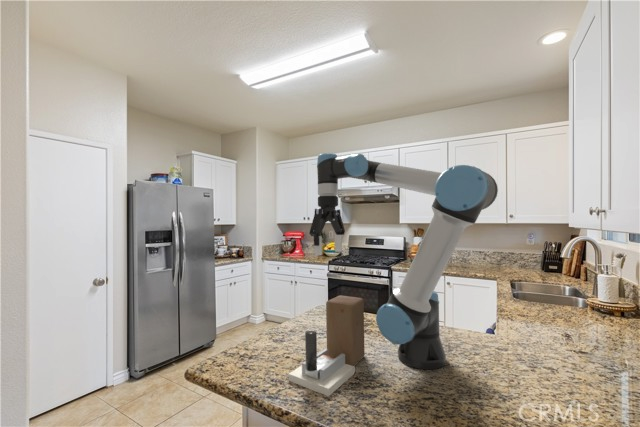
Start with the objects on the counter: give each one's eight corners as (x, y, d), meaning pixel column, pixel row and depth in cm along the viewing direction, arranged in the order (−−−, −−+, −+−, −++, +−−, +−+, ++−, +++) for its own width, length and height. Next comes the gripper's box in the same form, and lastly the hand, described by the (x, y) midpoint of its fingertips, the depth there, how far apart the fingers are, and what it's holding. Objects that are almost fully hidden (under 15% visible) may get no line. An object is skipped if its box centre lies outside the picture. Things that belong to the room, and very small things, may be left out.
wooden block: (353, 369, 93) (351, 304, 93) (325, 361, 98) (324, 300, 99) (365, 356, 101) (364, 297, 102) (340, 350, 106) (339, 294, 107)
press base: (354, 373, 90) (354, 356, 90) (328, 396, 78) (328, 377, 78) (317, 361, 98) (317, 346, 98) (288, 380, 86) (288, 363, 86)
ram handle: (334, 366, 90) (334, 325, 90) (314, 381, 81) (313, 336, 82) (323, 362, 92) (322, 322, 93) (301, 377, 84) (301, 332, 84)
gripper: (336, 198, 122) (337, 250, 121) (298, 194, 102) (299, 256, 101) (352, 197, 118) (353, 250, 117) (316, 192, 97) (317, 257, 97)
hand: (328, 253), depth 109 cm, fingers open, 13 cm apart
